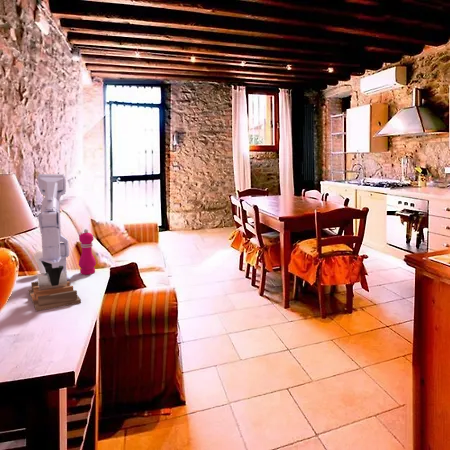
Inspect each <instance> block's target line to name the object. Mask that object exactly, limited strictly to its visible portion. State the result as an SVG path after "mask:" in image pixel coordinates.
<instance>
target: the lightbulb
mask: <svg viewBox="0 0 450 450" xmlns="http://www.w3.org/2000/svg"><path fill="white" fill-rule="evenodd" d="M39 258H43V254H42V248H41V249H38V250H37V251H35V253H34V255H33V259H34V261H35V262H36V264H37V267H38V270H39V274H43V273H46V271H45V268H44V266H43V264H42V262H41V261H39Z"/></svg>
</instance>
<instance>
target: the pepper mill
mask: <svg viewBox="0 0 450 450" xmlns="http://www.w3.org/2000/svg"><path fill="white" fill-rule="evenodd" d="M78 240H79V242H80V247H81V254H80V258H79V260H78V267H80V269H79V272H80V273H79V274H81V275H84V276H86V275H87V276H88V275H93V274H95V273H96V267H95V266H96V264H97V261H96V258H95V256H94V255H93V252H92V248H93V242H94V235H93V234H92V233H90V232H89V229H87V228H86V229H84V230H83V232H82V233H81V234H79V236H78Z"/></svg>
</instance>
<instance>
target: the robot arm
mask: <svg viewBox="0 0 450 450" xmlns="http://www.w3.org/2000/svg"><path fill="white" fill-rule="evenodd" d="M66 183H67V181H66V175H65V173H62V174H61V173H60V174H59V173H55V174H54V173H39V174H38V175H37V186H38V187H37V188H38V189H39V192H40V194H41V195H43V196H45V198H43V199H42V201H41V211H40V213H39V214H38V226H39V231H40V234H41V249H42V254H43V258H39V261H41V262H42V264H43V266H44V268H45V271H46V273H48V274H49V277H50V282H51V285H52V286H56V285H59V280H60V275H61V272H62V271H66V274H67V273H68V272H67V271H68V270H67V258H68V257H69V256H70V248H69V247H70V245H69V239H68V238H67V237H65V236H64V235H62V232H61V231H62V230H61V229H62V228H61V227H62V226H61V208H60V207H61V206H60V205H61V204H60V200H61V197H62V196H64V195H65V194H66V192H67V188H66V187H67V185H66ZM69 280H70V278H69V276H68V275H67V281H69Z"/></svg>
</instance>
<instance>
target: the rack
mask: <svg viewBox="0 0 450 450" xmlns="http://www.w3.org/2000/svg"><path fill="white" fill-rule="evenodd" d="M30 283H31V284H30V285H31V289H28V295H29V297H30V299H31V301H32V304H33V307H34V310H35V312H40V311H44V310H49V309H54V308H55V309H56V308H60V307H61V308H62V307H65V306H72V305H76V304H81V303H82V302H81V301H82V300H81V298H80V297H79V295H78V291H77V290H74V285H71V282H70V281H69V280H67V287H60V288H54V289H48V290H42V291H38V280H37V281H32V282H30Z"/></svg>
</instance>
